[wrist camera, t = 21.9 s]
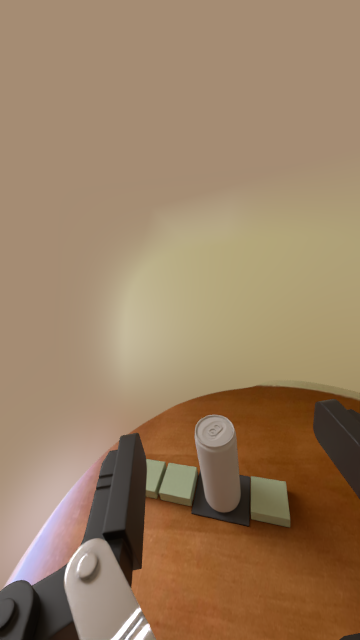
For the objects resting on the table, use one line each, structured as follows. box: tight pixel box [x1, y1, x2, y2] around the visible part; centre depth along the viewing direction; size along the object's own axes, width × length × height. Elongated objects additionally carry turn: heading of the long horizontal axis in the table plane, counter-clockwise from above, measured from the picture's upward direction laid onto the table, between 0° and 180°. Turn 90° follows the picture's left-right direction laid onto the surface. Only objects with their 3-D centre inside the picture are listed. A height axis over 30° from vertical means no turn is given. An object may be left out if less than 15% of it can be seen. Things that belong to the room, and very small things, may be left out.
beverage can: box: [195, 415, 241, 513], centre depth 30 cm, size 5×5×12 cm
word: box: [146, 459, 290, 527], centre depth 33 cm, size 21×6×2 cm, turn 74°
